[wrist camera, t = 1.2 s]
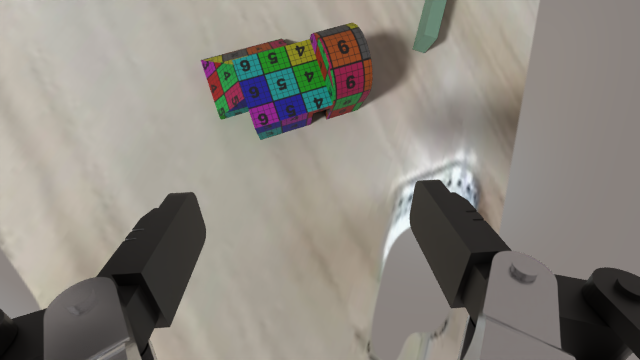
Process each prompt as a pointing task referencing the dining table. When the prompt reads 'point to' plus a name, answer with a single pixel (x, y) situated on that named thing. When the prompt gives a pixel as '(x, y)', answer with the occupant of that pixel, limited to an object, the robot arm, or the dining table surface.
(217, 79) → the building blocks
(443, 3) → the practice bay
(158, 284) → the robot arm
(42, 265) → the dining table surface
